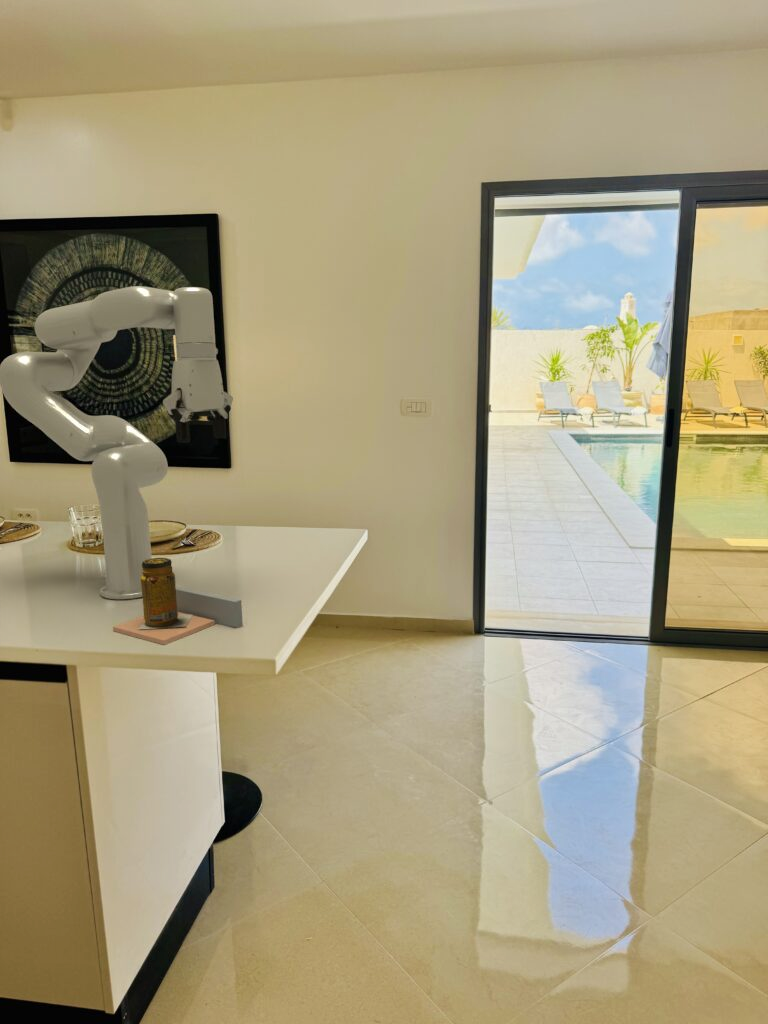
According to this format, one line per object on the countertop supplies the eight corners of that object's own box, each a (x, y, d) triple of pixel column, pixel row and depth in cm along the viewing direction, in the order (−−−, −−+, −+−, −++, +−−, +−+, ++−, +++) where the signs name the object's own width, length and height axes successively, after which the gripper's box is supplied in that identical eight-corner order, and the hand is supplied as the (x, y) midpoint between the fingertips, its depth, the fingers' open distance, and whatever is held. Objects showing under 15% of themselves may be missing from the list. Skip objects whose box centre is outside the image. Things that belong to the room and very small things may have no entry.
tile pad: (113, 630, 133) (112, 626, 133) (164, 612, 143) (164, 608, 143) (163, 644, 126) (163, 640, 126) (214, 624, 136) (214, 620, 135)
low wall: (157, 609, 145) (155, 585, 144) (163, 607, 147) (161, 583, 146) (236, 627, 134) (235, 602, 133) (242, 625, 135) (241, 599, 134)
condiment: (147, 617, 138) (142, 556, 136) (192, 615, 139) (188, 554, 137) (138, 630, 131) (132, 566, 129) (185, 628, 132) (180, 564, 129)
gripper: (215, 354, 151) (220, 436, 154) (147, 353, 137) (155, 443, 140) (241, 353, 147) (246, 437, 150) (174, 352, 133) (181, 445, 136)
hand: (202, 440), depth 145 cm, fingers open, 9 cm apart
